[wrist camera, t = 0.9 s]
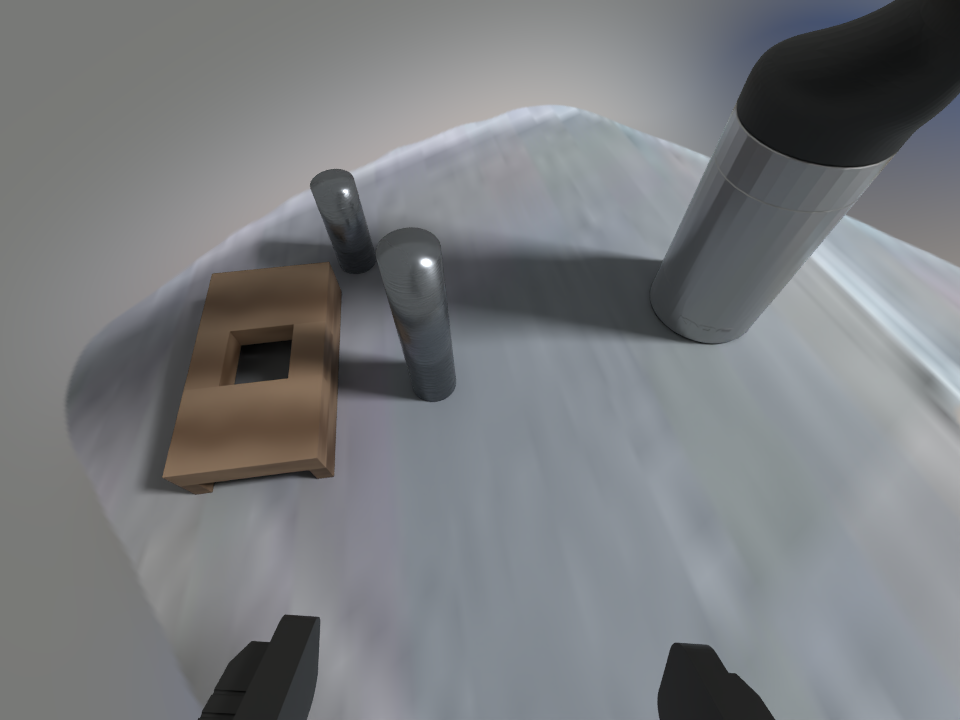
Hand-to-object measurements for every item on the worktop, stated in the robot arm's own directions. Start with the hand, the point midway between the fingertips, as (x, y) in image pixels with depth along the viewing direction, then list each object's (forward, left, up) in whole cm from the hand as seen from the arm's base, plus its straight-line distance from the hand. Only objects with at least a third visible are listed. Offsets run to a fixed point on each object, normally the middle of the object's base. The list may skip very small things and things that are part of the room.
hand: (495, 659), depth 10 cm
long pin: (-16, -10, -21) cm, 28 cm away
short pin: (-27, -23, -21) cm, 41 cm away
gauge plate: (-12, -23, -21) cm, 33 cm away
